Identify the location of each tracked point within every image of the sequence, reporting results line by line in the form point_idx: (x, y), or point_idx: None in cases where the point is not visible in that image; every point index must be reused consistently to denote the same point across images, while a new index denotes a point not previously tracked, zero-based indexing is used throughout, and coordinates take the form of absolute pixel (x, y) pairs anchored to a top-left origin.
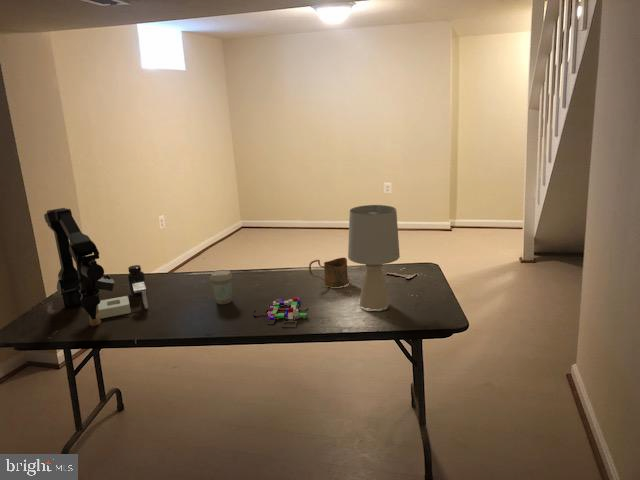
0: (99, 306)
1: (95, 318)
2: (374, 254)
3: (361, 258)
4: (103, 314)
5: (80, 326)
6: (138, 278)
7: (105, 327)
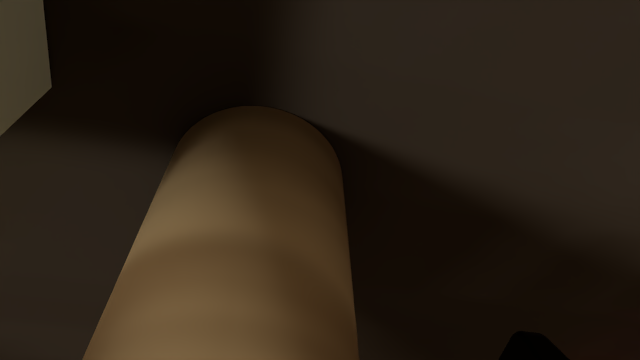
0: None
1: (547, 343)
2: None
3: None
4: (1, 33)
5: None
6: None
7: (563, 87)
